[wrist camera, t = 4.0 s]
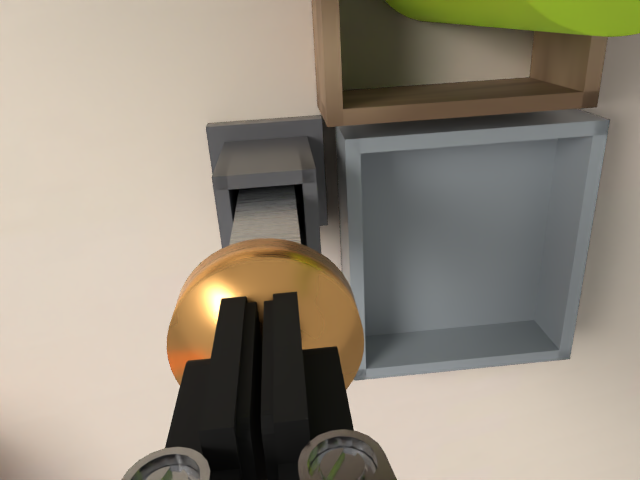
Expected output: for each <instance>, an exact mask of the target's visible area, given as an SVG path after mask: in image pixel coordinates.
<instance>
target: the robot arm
mask: <svg viewBox="0 0 640 480" xmlns="http://www.w3.org/2000/svg"><path fill="white" fill-rule="evenodd" d="M122 480H397V479H396V477H395V474H394V472H393V470H392V468H391V466H390V464H389V461H388V459H387V457H386V455H385V453H384V451H383V450H382V448H381V447H380V445H379V444H378V443H377V442H376V441H375V440H373V439H372V438H371V437H369V436H368V435H365V434H363V433H360V432H358V431H354V429H353V424H352V419H351V414H350V409H349V404H348V398H347V393H346V388H345V383H344V378H343V373H342V368H341V362H340V357H339V352H338V348H337V346H333V347H323V348H313V349H302V341H301V330H300V319H299V307H298V296H297V292H286V293H275V294H273V300H269V301H264V311H263V347H262V341H261V333H260V324H259V316H258V308H257V302H248V301H247V297H246V296H242V297H231V298H222V299H221V302H220V307H219V313H218V319H217V324H216V330H215V336H214V342H213V347H212V353H211V358H209V359H199V360H188V361H187V362H186V365H185V368H184V372H183V376H182V381H181V385H180V389H179V393H178V397H177V401H176V405H175V409H174V414H173V418H172V422H171V426H170V430H169V434H168V438H167V442H166V447H165V448H164V449H161V450H158V451H156V452H153V453H150V454H149V455H147V456H145V457H144V458H142V459H140V460H139V461H137V462H136V463H135V464H134V465H133V466H132V467H131V468H130V469H129V470H128V471H127V472H126V474H125V475H124V477H123V478H122Z"/></svg>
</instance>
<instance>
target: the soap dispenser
mask: <svg viewBox="0 0 640 480" xmlns="http://www.w3.org/2000/svg"><path fill="white" fill-rule="evenodd" d="M385 1H386V2H387V3H388V4H389V5H390V6H391V7H392V8H393V9H394V10H396V11H397V12H399V13H401V14H402V15H404V16H406V17H409V18H412V19H415V20H419V21H425V22H437V23H449V24H460V25H472V26H484V27H496V28H507V29H519V30H531V31H542V32H554V33H566V34H577V35H589V36H602V37H616V36H627V35H633V34H638V33H640V0H385Z"/></svg>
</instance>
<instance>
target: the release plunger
mask: <svg viewBox="0 0 640 480" xmlns="http://www.w3.org/2000/svg"><path fill="white" fill-rule="evenodd" d="M286 292H297V296H298V307H299V319H300V330H301V341H302V349H313V348H323V347H333V346H337V348H338V352H339V357H340V362H341V368H342V373H343V378H344V383H345V388H346V389H347V388H348V387H349V385H350V384H351V382H352V381H353V379H354V377H355V376H356V374H357V372H358V370H359V367H360V364H361V361H362V357H363V352H364V332H363V327H362V323H361V319H360V316H359V312H358V309H357V305H356V302H355V298H354V295H353V292H352V289H351V287H350V285H349V283H348V281H347V279H346V278H345V276H344V275H343V273H342V272H341V271H340V270H339V269H338V267H337V266H336V265H335V264H334V263H332V262H331V261H330V260H329V259H328V258H327V257H325V256H324V255H322V254H321V253H319V252H318V251H316V250H314V249H312V248H310V247H308V246H305V245H302V244H301V240H300V232H299V223H298V215H297V207H296V199H295V191H294V184H293V185H280V186H268V187H255V188H242V189H239V194H238V199H237V205H236V210H235V216H234V221H233V227H232V232H231V238H230V243H229V246H227V247H225V248H222V249H220V250H219V251H217V252H215V253H213V254H212V255H210V256H209V257H208V258H206V259H205V260H204V261H202V262H201V263H200V264H199V265H198V266H197V267H196V268H195V269H194V270H193V272H192V273H191V274H190V276H189V277H188V278H187V280H186V282H185V284H184V285H183V287H182V289H181V292H180V295H179V298H178V301H177V304H176V307H175V310H174V313H173V316H172V319H171V322H170V325H169V330H168V335H167V354H168V360H169V364H170V367H171V370H172V372H173V374H174V376H175V378H176V380H177V382H178V383H179V385H181V381H182V376H183V372H184V368H185V365H186V362H187V361H188V360H199V359H209V358H211V353H212V347H213V342H214V336H215V330H216V324H217V319H218V313H219V307H220V302H221V299H222V298H231V297H242V296H246V297H247V301H248V302H257V308H258V316H259V324H260V333H261V341H262V347H263V311H264V301H269V300H273V294H275V293H286Z"/></svg>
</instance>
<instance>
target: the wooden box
mask: <svg viewBox="0 0 640 480" xmlns="http://www.w3.org/2000/svg"><path fill="white" fill-rule="evenodd" d="M312 16H313V33H314V51H315V69H316V86H317V104H318V108H319V110H320V112H321V115H322V117H323V119H324V121H325V123H326V125H327V127H336V126H349V125H363V124H376V123H390V122H403V121H417V120H431V119H444V118H458V117H471V116H485V115H498V114H512V113H525V112H539V111H552V110H566V109H580V108H593V107H597V103H598V97H599V90H600V84H601V77H602V71H603V65H604V58H605V52H606V45H607V39H608V37H602V36H589V35H577V34H566V33H554V32H542V31H534V39H533V49H532V59H531V68H530V77H529V78H515V79H501V80H486V81H472V82H458V83H444V84H429V85H415V86H401V87H387V88H372V89H358V90H344V91H342V70H341V43H340V17H339V0H312Z"/></svg>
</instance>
